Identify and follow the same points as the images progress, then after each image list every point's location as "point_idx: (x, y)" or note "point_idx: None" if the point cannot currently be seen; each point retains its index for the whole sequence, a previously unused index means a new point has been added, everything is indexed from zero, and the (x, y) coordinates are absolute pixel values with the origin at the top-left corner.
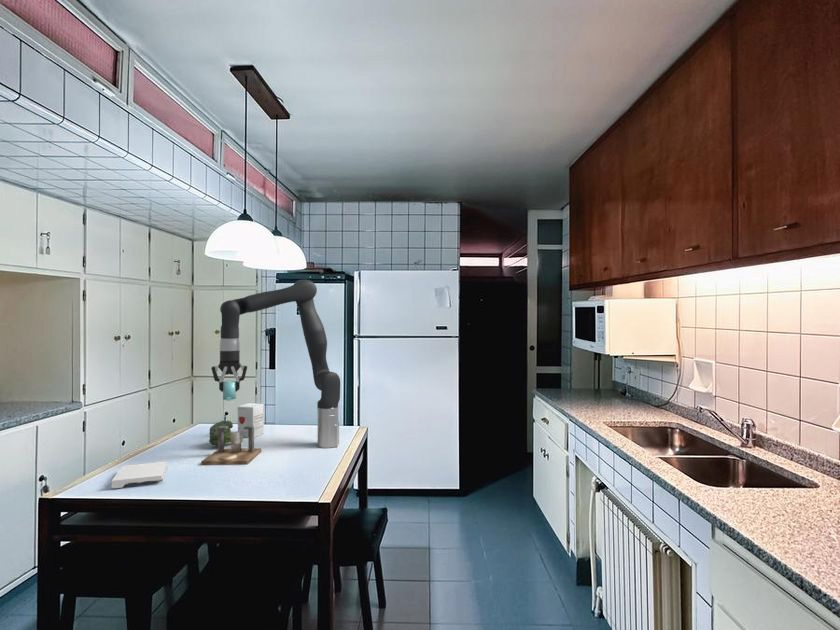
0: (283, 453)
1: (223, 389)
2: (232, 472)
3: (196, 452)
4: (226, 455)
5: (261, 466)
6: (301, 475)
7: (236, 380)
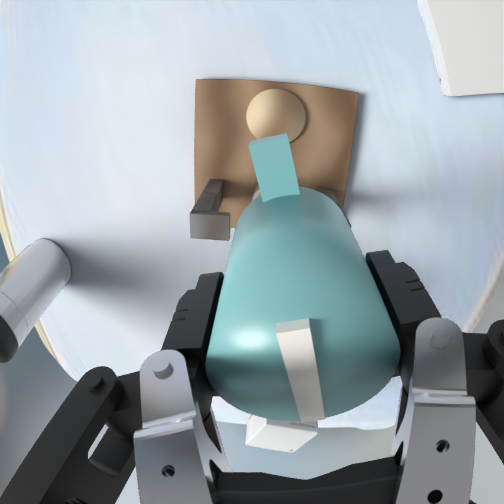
0: (125, 197)
1: (364, 260)
2: (223, 7)
3: (400, 237)
4: (286, 131)
5: (148, 63)
6: (40, 14)
7: (180, 369)
